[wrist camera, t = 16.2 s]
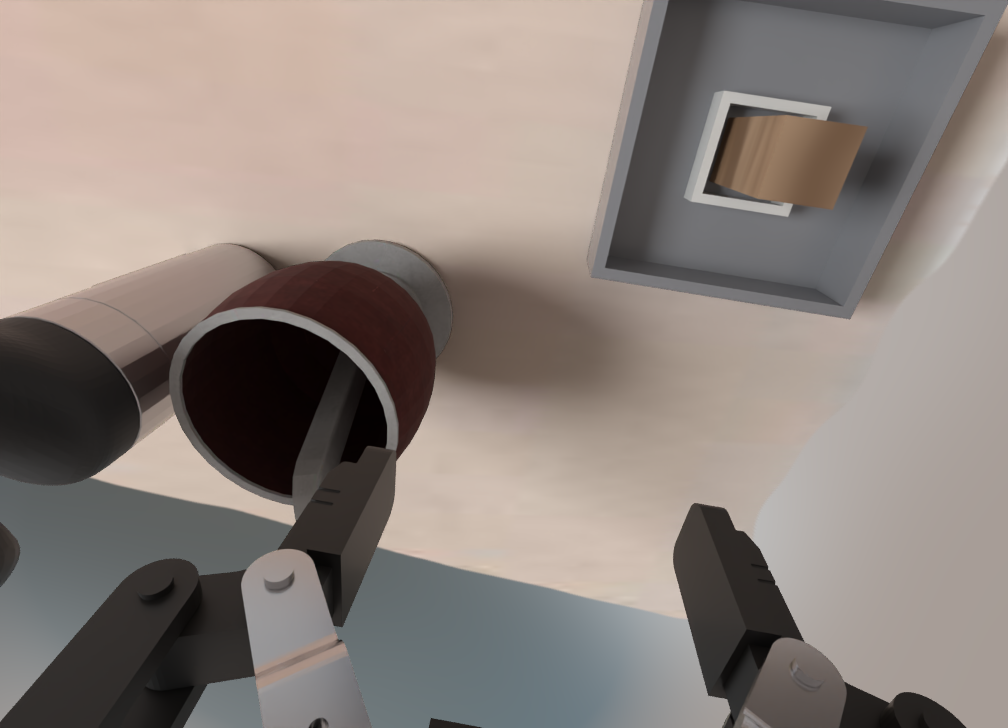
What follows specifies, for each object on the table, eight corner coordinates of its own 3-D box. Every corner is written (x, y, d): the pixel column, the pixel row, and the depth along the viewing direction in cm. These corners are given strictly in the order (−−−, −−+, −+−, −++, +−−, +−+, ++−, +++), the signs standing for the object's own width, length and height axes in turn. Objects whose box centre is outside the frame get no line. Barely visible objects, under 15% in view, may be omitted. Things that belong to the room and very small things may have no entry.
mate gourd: (280, 244, 40) (58, 340, 22) (441, 215, 38) (337, 297, 20) (340, 403, 46) (206, 577, 29) (480, 388, 44) (429, 566, 26)
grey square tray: (586, 259, 38) (590, 277, 34) (649, -25, 30) (665, -52, 25) (815, 296, 38) (850, 319, 33) (941, 17, 29) (1010, -1, 25)
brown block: (709, 181, 34) (757, 198, 26) (728, 117, 32) (787, 114, 24) (766, 189, 34) (832, 209, 26) (789, 126, 32) (868, 126, 24)
